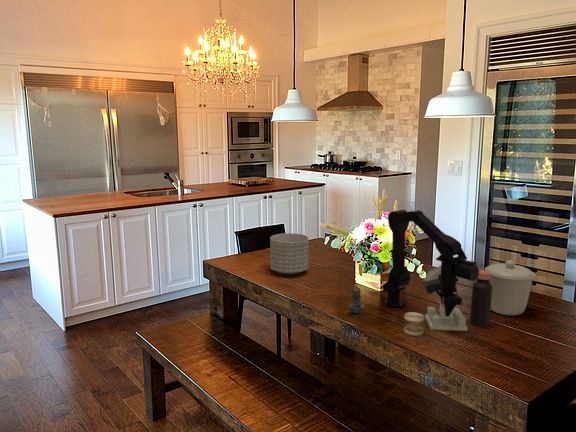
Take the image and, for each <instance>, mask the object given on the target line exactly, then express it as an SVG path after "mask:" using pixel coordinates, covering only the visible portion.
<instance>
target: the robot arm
mask: <svg viewBox="0 0 576 432" xmlns="http://www.w3.org/2000/svg"><path fill="white" fill-rule="evenodd" d="M387 221H388V227H389V228H390V231H391V232H392V246H391V247H392V254H391V255H392V259H391V262H392V264H391V265H392V266H391V269H390V271H389V272H388V278H387V281H386V282H385V283H383V284H382V286H381V287H382V290H383V292H385V293H386V299H385V300H384V303H385V306H386V307H388V308H389V307H392V308H395V307H396V308H403V303H402V291H403V290H406V287H407V286H408V285H409V284H410V282H411V271H410V270H409V271H408V269H407V268H406V265H405V264H406V263H405V262H406V259H405V258H406V231H407V230H408V228H409V225H410V222H413V223H414V225H416V226H417V227H418V228H419V229H420V230H421V231H422V232H423V233H424V234H425V235H426V236H427V237H428V238H429V239H430V240H431V241H432V242H433V243H434V245H435V249H436V250H437V251H438V253H439V256H437V257H436V259H435V260H436V261H439V262H440V266H441V274H439V275H438V279H434V280H430V281H427V282H423V286H424V288H425V292H426V294H428V295H431V294H433V293H436V294H437V295H438V296H439V298H440V303H444V306H445V315H446V316H449V315H450V314H451V312H452V311H453V309H454V308H456V306H462V305H463V299H462V297H461V296H460V295H459V294H458V288H457V282H459V279H463V280H466V281H470V282H476V281H477V277H478V275H479V270H480V269H479V266H478V265H477V262H476V261H473V260H467V259H468V257H467V255H466V253H465V252H464V249H463V248H462V244H461V242H460V241H459V240H457V239H456V238H454V237H452V236H450V235H449V234H446V233H445V232H443V231H442V230H441V229H440V228H439V227H438V226H437V225H436V224H435V223H433V221H432V220H431V219H429V218H428V217H427V216H426V215H425V214H424V212H423V211H422V210H413V211H412V210H411V211H407V210H406V209H400V210H393V211H391V212H390V213H389V214H388V216H387Z"/></svg>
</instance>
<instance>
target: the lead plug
mask: <svg viewBox="0 0 576 432" xmlns="http://www.w3.org/2000/svg"><path fill="white" fill-rule="evenodd" d="M438 315H440V316H441V318H446V319H453V311H452V312H451V314H450V315H449V316H446V315H445V306H444V303H441V302H439V313H438Z"/></svg>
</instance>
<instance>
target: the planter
mask: <svg viewBox="0 0 576 432" xmlns="http://www.w3.org/2000/svg"><path fill="white" fill-rule="evenodd" d="M269 239H270V240H269V241H270V242H269V243H270V244H269V246H270V247H269V248H270V249H269V252H270V253H269V254H270V257H269V261H270V265H269V266H270V269H271V270H273V271H275V272H277V273H279V274H281V275H283V276H284V275H285V276H294V275H295V276H296V275H299V274H300V273H302V272H304V271H306V270H308V269H309V237H308V235H305V234H302V233H294V232H293V233H291V232H289V233H288V232H287V233H285V232H283V233H277V234H274V235H271V236H270V237H269Z"/></svg>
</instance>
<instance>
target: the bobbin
mask: <svg viewBox="0 0 576 432" xmlns="http://www.w3.org/2000/svg"><path fill="white" fill-rule="evenodd" d="M403 318H404V320H405V321H407V325H405V326H404V327H403V332H404V333H405V334H406V335H408V336H411V337H419V336H423V335H424V332H425V331H424V327H421V323H423V322H425V314H422V313H419V312H414V311H409V312H405V313H404V316H403Z"/></svg>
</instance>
